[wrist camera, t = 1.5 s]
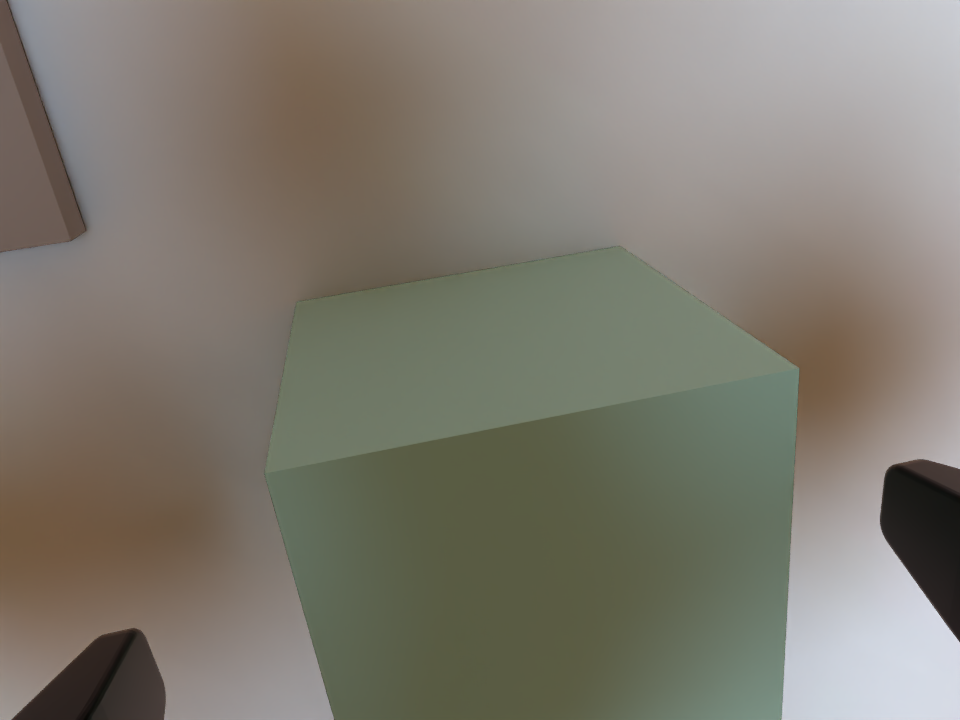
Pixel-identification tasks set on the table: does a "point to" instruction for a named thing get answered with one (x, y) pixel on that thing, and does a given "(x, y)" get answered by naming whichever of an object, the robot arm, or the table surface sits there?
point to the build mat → (29, 157)
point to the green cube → (537, 497)
